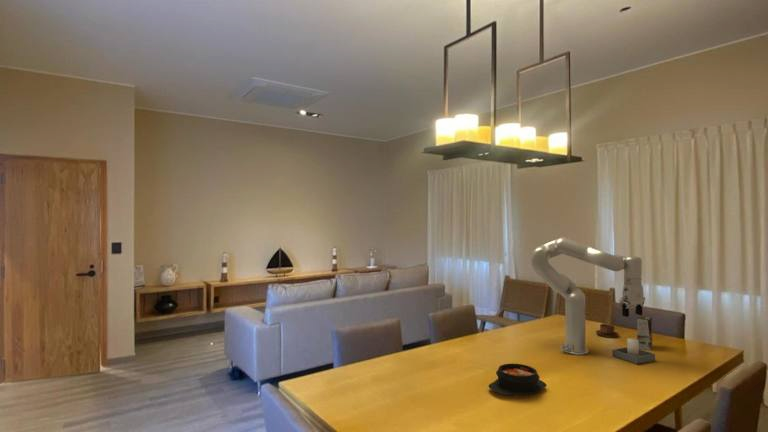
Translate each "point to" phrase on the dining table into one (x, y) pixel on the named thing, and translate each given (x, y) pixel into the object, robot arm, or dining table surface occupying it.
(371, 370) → the dining table surface
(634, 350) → the canister
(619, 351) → the bin
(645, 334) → the coffee box
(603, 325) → the cup and saucer
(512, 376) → the casserole
